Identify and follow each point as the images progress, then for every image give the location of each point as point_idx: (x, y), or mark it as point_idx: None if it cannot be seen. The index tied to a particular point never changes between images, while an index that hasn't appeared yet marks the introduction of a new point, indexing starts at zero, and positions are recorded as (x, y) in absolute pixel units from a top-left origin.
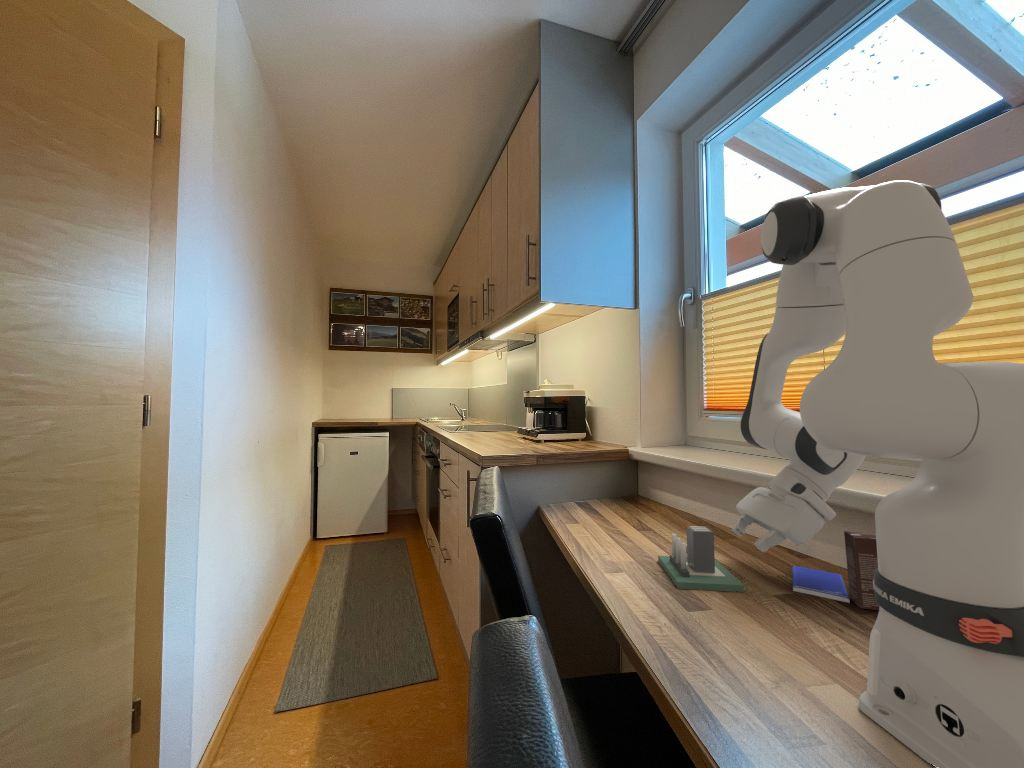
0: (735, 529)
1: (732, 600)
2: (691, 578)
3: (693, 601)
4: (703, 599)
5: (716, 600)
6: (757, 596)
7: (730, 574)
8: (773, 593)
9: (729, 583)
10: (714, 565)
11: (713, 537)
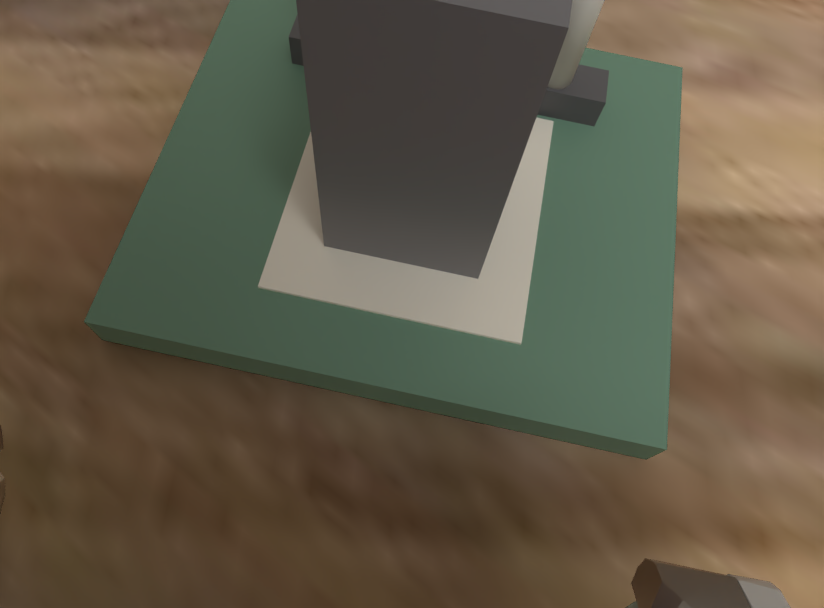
0: (674, 580)
1: (27, 189)
2: (271, 63)
3: (88, 3)
4: (92, 56)
5: (59, 109)
6: (17, 382)
7: (291, 352)
8: (14, 550)
9: (142, 239)
10: (322, 214)
11: (300, 26)
